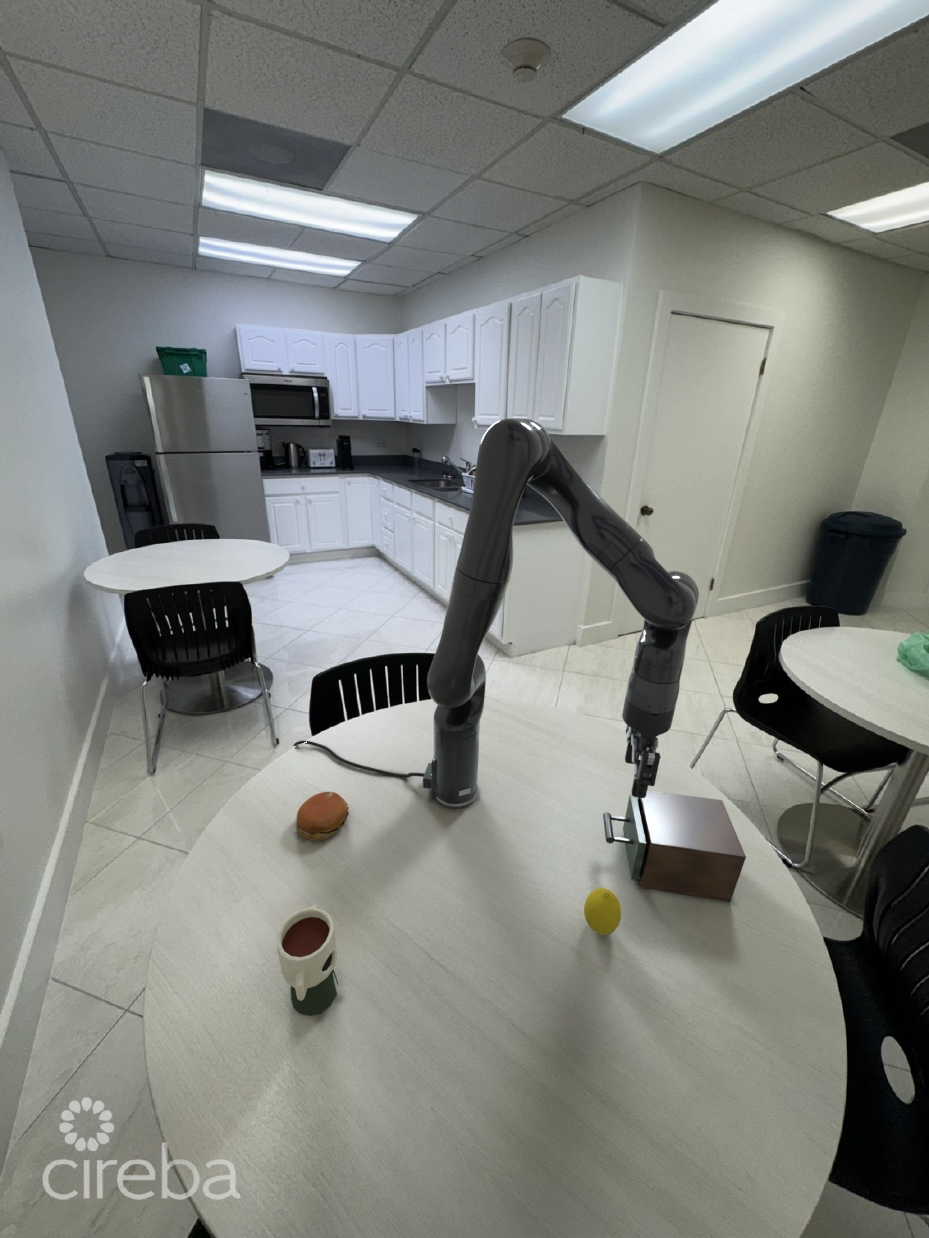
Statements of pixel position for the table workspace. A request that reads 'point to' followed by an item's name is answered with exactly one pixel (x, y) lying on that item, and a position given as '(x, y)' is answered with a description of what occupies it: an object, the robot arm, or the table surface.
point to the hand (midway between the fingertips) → (634, 778)
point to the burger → (321, 816)
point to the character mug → (309, 959)
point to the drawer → (630, 835)
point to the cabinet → (690, 846)
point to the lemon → (602, 911)
